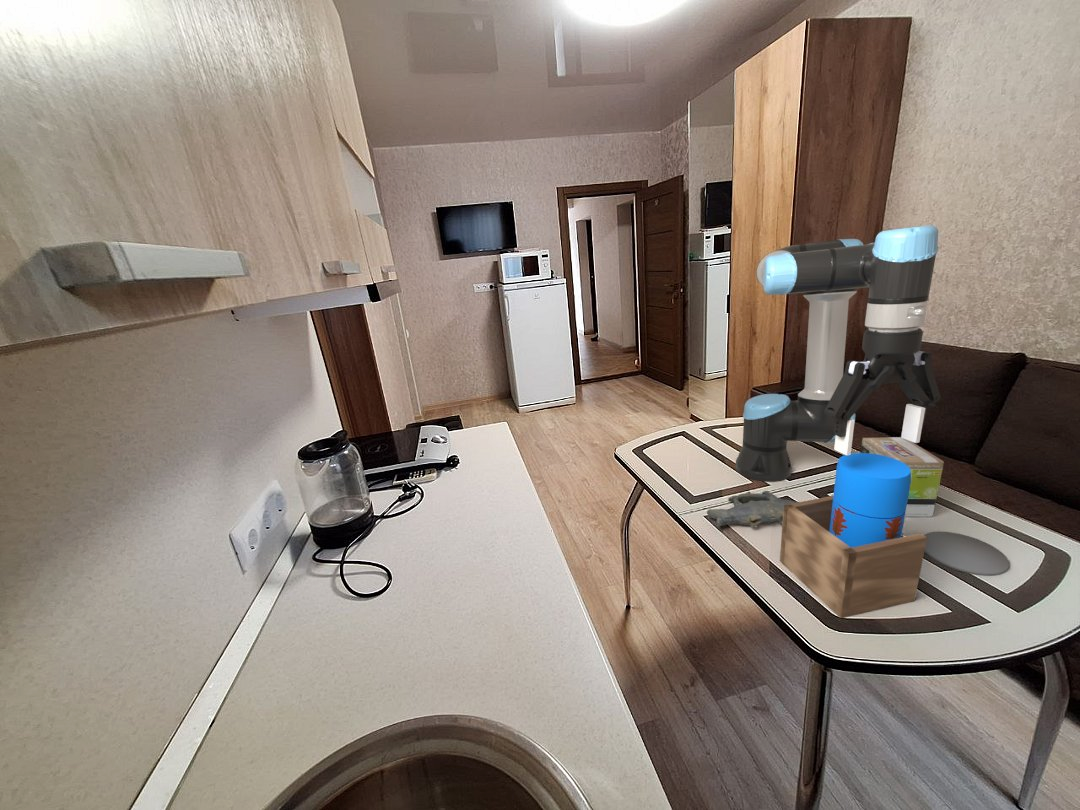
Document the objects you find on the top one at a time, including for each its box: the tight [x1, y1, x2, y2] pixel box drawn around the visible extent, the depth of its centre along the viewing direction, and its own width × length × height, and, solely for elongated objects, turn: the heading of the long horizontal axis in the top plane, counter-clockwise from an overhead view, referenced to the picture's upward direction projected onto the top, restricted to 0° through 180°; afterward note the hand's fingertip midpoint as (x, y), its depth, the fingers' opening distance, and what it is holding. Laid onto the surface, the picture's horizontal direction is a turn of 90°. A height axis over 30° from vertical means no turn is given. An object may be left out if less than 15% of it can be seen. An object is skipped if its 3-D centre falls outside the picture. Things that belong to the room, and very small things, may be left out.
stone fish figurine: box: [706, 490, 799, 528], centre depth 107 cm, size 5×25×15 cm
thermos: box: [829, 452, 911, 548], centre depth 80 cm, size 11×11×25 cm
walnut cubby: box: [779, 495, 927, 619], centre depth 81 cm, size 16×15×14 cm
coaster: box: [923, 531, 1010, 577], centre depth 86 cm, size 13×13×1 cm
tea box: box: [860, 436, 945, 518], centre depth 104 cm, size 15×10×15 cm, turn 169°
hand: (876, 446), depth 75 cm, fingers open, 13 cm apart
